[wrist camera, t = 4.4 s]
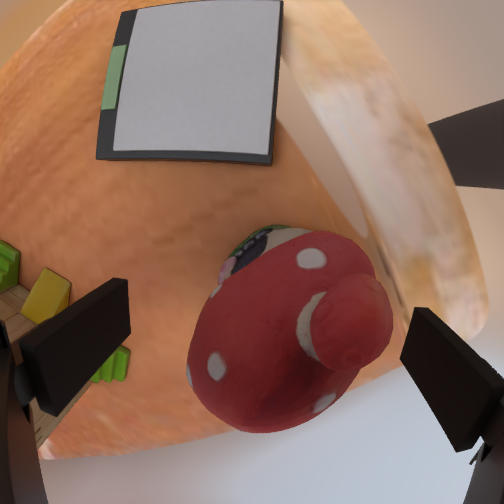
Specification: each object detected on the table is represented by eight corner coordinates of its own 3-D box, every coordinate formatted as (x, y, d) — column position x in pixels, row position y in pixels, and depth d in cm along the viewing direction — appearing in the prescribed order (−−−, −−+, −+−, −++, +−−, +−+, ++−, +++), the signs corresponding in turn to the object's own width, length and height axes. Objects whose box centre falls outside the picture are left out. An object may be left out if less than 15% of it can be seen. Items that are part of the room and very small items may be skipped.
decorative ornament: (306, 193, 20) (379, 217, 6) (357, 269, 21) (467, 403, 6) (199, 270, 22) (88, 404, 7) (253, 338, 23) (224, 512, 8)
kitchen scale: (283, 16, 17) (283, -5, 14) (271, 166, 20) (270, 163, 17) (133, 23, 18) (118, 8, 15) (111, 160, 21) (90, 159, 18)
